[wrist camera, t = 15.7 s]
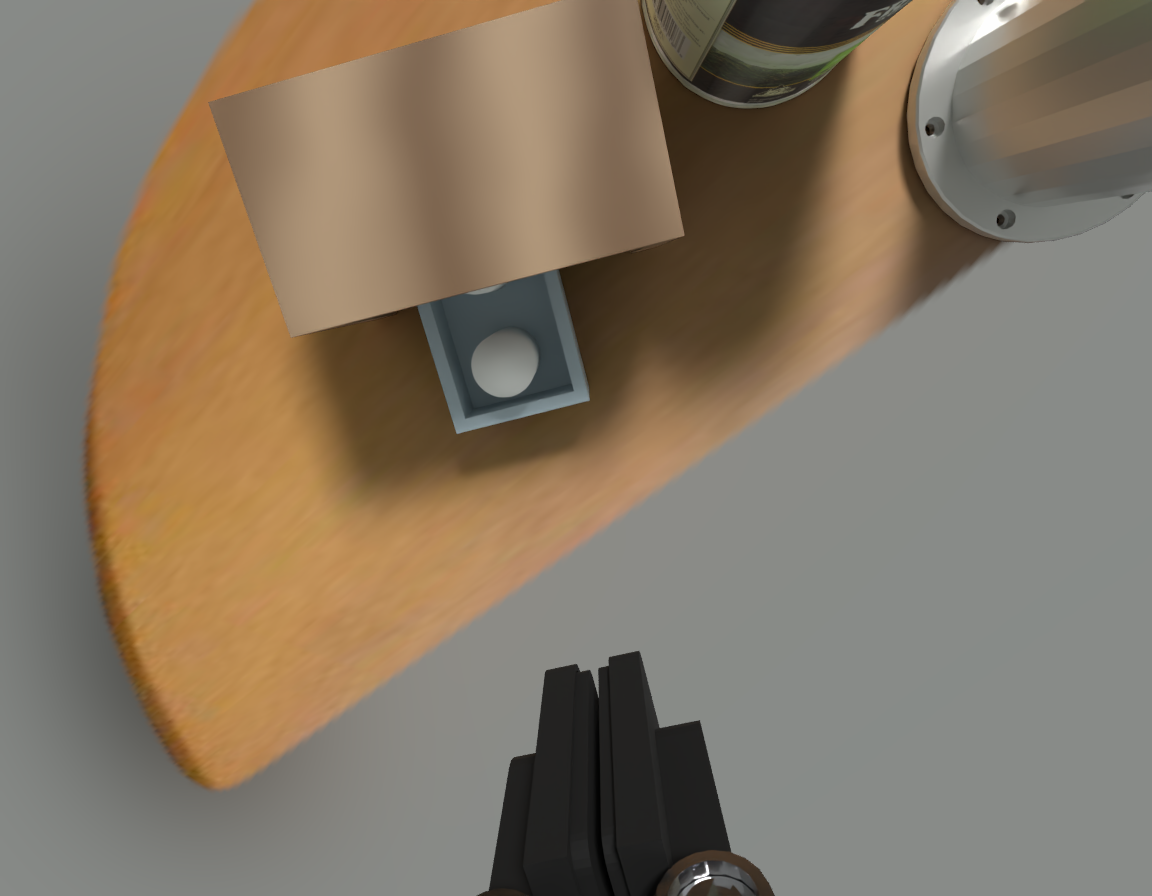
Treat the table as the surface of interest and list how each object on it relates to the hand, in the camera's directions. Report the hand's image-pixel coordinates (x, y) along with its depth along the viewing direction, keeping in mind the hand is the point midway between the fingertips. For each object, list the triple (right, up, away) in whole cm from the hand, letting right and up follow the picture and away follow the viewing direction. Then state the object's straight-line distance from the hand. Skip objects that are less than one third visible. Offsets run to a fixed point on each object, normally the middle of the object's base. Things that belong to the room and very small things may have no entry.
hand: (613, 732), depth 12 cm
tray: (-4, +12, +22) cm, 26 cm away
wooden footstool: (-5, +17, +21) cm, 27 cm away
